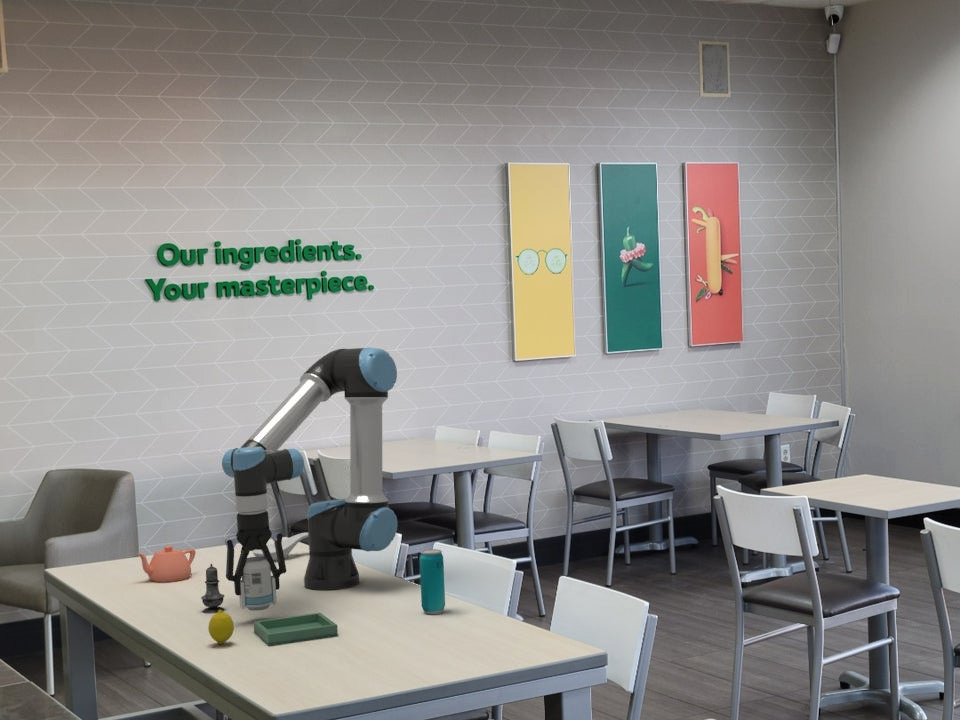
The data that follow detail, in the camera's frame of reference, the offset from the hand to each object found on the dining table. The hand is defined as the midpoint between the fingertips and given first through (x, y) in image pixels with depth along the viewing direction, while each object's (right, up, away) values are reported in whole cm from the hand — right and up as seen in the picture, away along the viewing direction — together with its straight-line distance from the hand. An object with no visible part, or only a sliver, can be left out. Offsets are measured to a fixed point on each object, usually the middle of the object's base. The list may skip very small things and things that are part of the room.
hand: (258, 605), depth 287 cm
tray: (+11, -4, -14) cm, 18 cm away
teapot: (-37, -4, +56) cm, 67 cm away
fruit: (-4, -5, -21) cm, 22 cm away
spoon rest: (-5, -2, +82) cm, 82 cm away
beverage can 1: (0, -1, 0) cm, 1 cm away
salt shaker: (-14, -4, +13) cm, 20 cm away
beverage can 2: (+42, -2, +2) cm, 42 cm away
